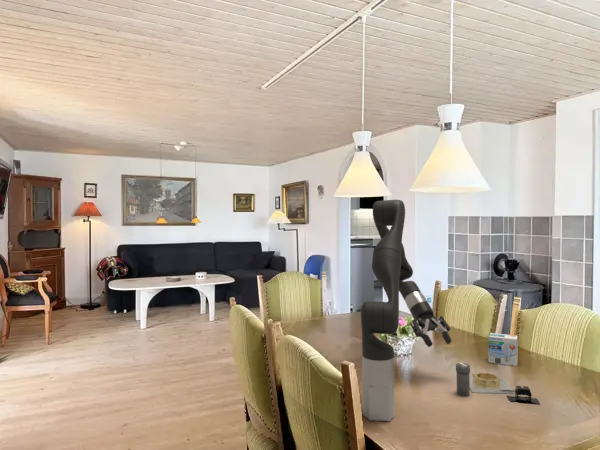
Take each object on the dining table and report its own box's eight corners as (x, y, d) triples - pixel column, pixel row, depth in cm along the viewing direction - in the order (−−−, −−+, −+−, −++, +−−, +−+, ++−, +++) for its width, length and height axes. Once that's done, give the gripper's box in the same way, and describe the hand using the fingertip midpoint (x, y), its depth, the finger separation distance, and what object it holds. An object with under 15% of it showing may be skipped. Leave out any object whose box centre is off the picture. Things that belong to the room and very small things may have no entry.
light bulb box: (488, 362, 173) (487, 336, 173) (489, 358, 179) (489, 332, 179) (517, 366, 168) (517, 339, 168) (518, 361, 174) (517, 335, 174)
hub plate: (513, 393, 141) (513, 382, 141) (472, 392, 143) (472, 380, 143) (499, 379, 154) (499, 369, 154) (462, 378, 156) (462, 368, 156)
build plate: (542, 399, 138) (541, 385, 138) (548, 409, 131) (548, 394, 131) (499, 395, 141) (499, 381, 141) (503, 404, 134) (503, 390, 134)
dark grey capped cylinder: (473, 395, 140) (472, 365, 140) (461, 397, 139) (461, 366, 139) (464, 390, 144) (464, 361, 144) (453, 392, 143) (453, 362, 143)
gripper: (407, 302, 156) (429, 341, 146) (438, 299, 162) (461, 336, 152) (398, 313, 161) (419, 352, 151) (428, 310, 167) (450, 347, 156)
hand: (440, 344), depth 151 cm, fingers open, 8 cm apart
